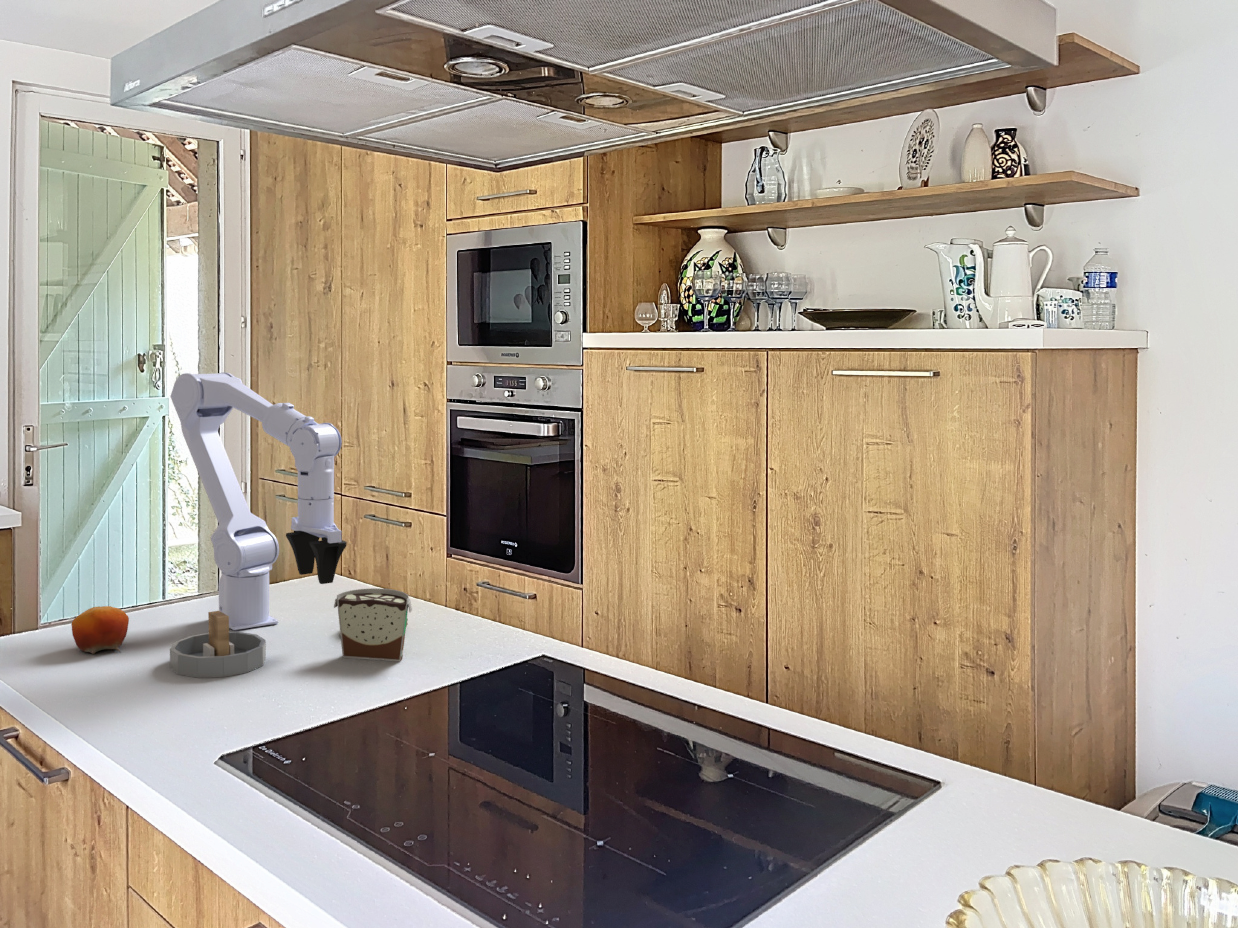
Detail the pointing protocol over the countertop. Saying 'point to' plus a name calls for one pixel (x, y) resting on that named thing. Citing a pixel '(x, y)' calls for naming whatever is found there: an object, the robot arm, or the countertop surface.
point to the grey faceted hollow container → (200, 661)
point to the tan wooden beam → (219, 633)
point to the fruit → (100, 629)
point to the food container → (373, 623)
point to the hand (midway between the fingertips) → (315, 578)
